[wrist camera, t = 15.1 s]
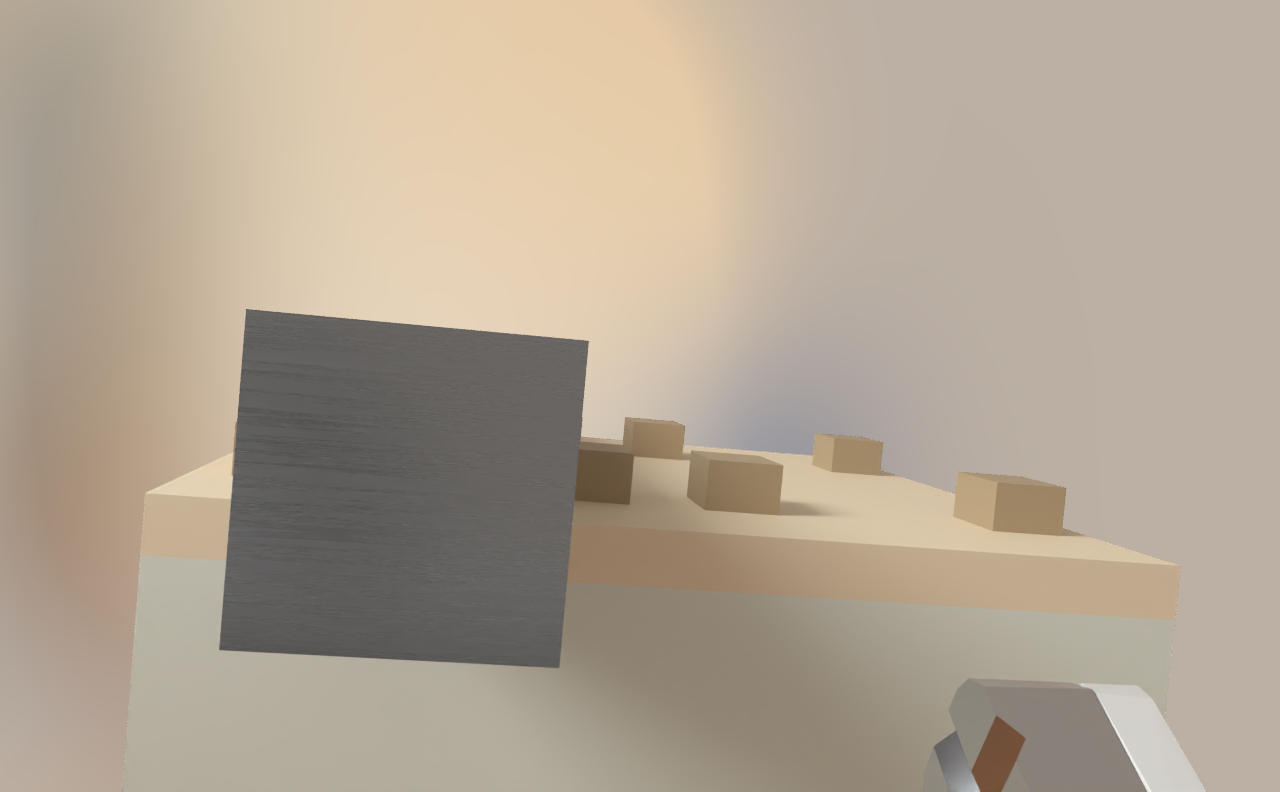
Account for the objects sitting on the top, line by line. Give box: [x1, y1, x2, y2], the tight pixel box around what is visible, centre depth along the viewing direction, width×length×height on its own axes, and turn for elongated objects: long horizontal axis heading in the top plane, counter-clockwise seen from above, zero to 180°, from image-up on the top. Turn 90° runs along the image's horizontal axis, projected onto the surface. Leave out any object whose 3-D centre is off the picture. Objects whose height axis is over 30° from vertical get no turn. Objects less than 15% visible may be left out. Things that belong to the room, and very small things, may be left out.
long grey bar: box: [219, 309, 589, 668], centre depth 24 cm, size 28×3×3 cm, turn 8°
